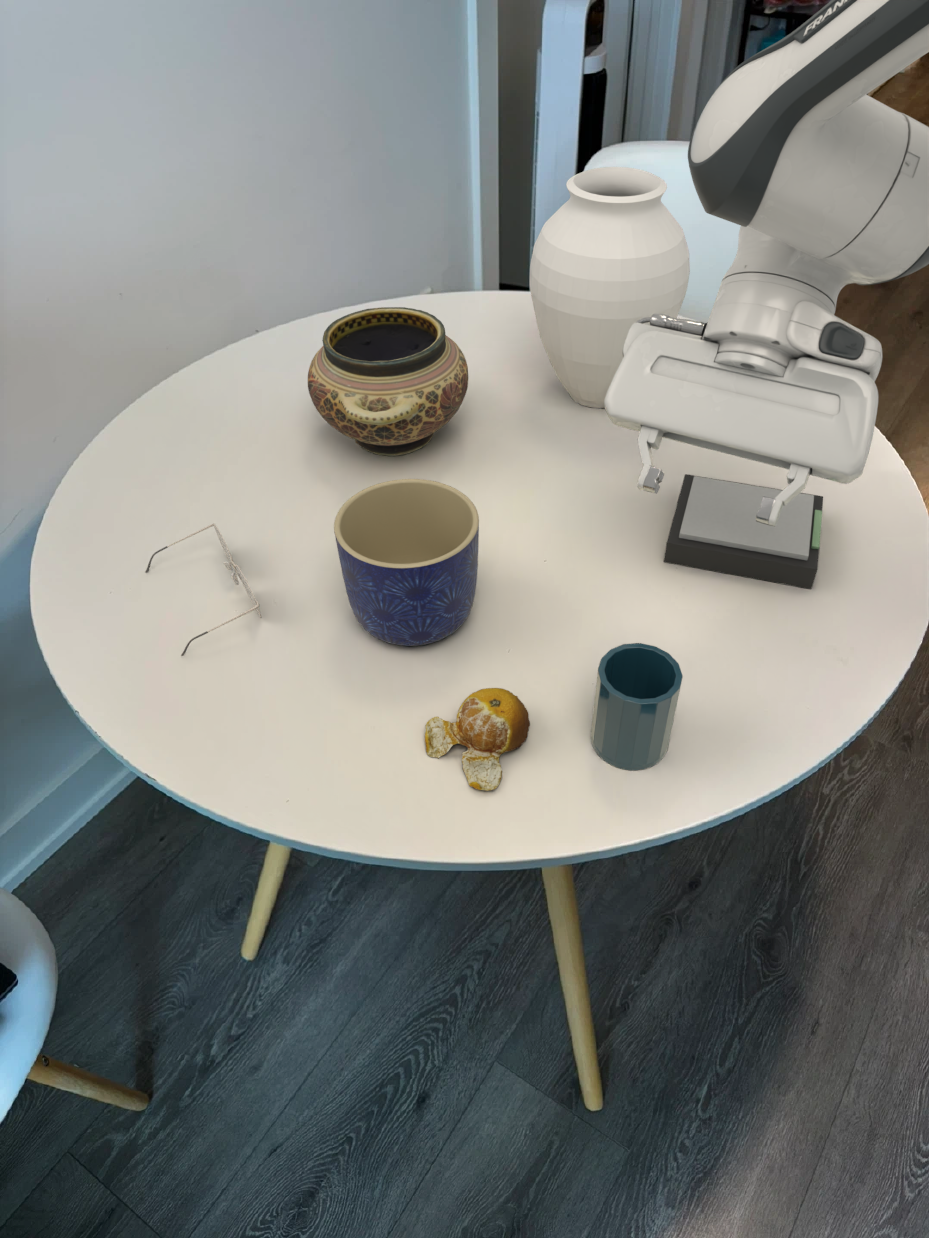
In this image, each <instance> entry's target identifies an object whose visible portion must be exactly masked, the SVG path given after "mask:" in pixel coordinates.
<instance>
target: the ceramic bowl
mask: <svg viewBox="0 0 929 1238" xmlns="http://www.w3.org/2000/svg"><path fill="white" fill-rule="evenodd" d="M468 386H469V366H468V362H467V360H466V357H465V354H464V353H463V351H462V349H461V348H460V347H459V345H458V344H457V343H456V341H454V340H453V339H452V338H450V337H449V336H447V335H446V329H445V325H444V323H443V322H442V321H441V320H440V319H438V318H437V317H436V315H434V314H431V313H429V312H427V311H425V310H422V309H416V308H411V307H405V306H403V307H402V306H390V307H389V306H388V307H384V306H383V307H382V306H381V307H373V308H366V309H362V310H357V311H354V312H352V313H348V314H346V315H343V316H342V317H339V318H337V319H335V320H334V321H332V323H330V324H329V325H328V326H327V327H326V329H325V330H324V332H323V334H322V346H321V347H320V348H319V349H318V350H317V352H316V353H315V354H314V356H313V357H312V359H311V362H310V365H309V367H308V372H307V389H308V394H309V396H310V399H311V402H312V405H314V408H315V409H316V411H317V412H318V414H319V415H320V416H321V417H322V418H323V419H324V420H325V422H327V424H328V425H330V426H331V427H332V428H333V429H335V430H336V431H337V432H339V433H341V434H342V435H344V436H345V437H348V438H349V439H352V440H354V441H355V443H356V444H357V445H358V446H359V447H360V448H362V449H364V450H365V451H367V452H369V453H372V454H375V455H379V456H387V457H389V456H390V457H391V456H402V455H406V454H410V453H413V452H415V451H418V450H420V449H422V448H423V447H425V446H426V445H427V444H428V443H429V442H430V441H431V439H432V438H433V437H434V434H435V433H436V432H437V431H439V430H440V429H442V428H443V427H444V426H445V425H447V424H448V422H450V420H452V418H453V417H454V415H456V413H457V412H458V411H459V409H460V407H461V405H462V404H463V402H464V401H465V397H466V395H467V390H468Z"/></svg>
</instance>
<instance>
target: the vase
mask: <svg viewBox="0 0 929 1238" xmlns="http://www.w3.org/2000/svg"><path fill="white" fill-rule="evenodd" d="M565 183H566V184H565V186H566V189H567V190H568V193H569V198H568V200H567V201H565V202H564V203H563V204H562V205H561V206H560V207H559V208H558V209H557V210H556V211H555V212H554V213H553V214H552V215H550V217H549V218H548V219H547V220H546V221H545V222H544V224H543V226H542V228H541V229H540V231H539V234H538V236H537V237H536V240H535V242H534V245H533V249H532V254H531V257H530V258H531V259H530V264H529V265H530V266H529V291H530V295H531V301H532V306H533V310H534V316H535V320H536V321H535V322H536V326H537V330H538V333H539V337H540V340H541V343H542V345H543V347H544V350H545V353H546V355H547V357H548V360H549V362H550V365H551V366H552V368H553V370H554V373H555V376H556V377H557V379H558V380H559V382H560V383H561V385H562V387H564V389H565V390H566V392H568V393H569V396H570V398H571V399H572V400H573V401H574V402H575V403H577V404H579V405H581V406H584V407H588V408H593V409H594V408H595V409H605V407H604V400H605V397H606V394H607V391H608V389H609V386H610V384H611V382H612V379H613V377H614V375H615V373H616V371H617V369H618V367H619V365H620V363H621V361H622V359H623V354H622V350H623V346H624V343H625V340H626V337H627V334H628V331H629V329H630V327H631V326H632V325H633V324H634V323H635V322H637V321H638V320H640V319H642V318H646V317H651V316H652V315H653V314H664V315H668V316H669V317H672V318H677V319H678V316H679V313H680V311H681V309H682V305H683V303H684V300H685V298H686V295H687V291H688V287H689V280H690V273H691V268H690V267H691V265H690V264H691V263H690V262H691V261H690V249H689V246H688V243H687V238H686V236H685V232H684V229H683V227H682V225H680V223H679V222H678V221H677V219H676V218H675V217H674V215H673V214H672V213H671V212H670V210H669V209H668V208H667V206H666V205H665V204H664V203H663V202H662V197H663V195H664V194H665V192H666V191H667V188H668V185H667V183H666V181H665V180H664V179H662V177H660V176H658V175H656V174H653V173H652V172H649V171H647V170H644V169H640V168H634V167H626V166H603V167H596V168H591V169H587V170H584V171H582V172H579V173H577V174H575V175H573V176H571V177H570V178H569V179H567V181H566V182H565ZM644 324H647V325H650V322H648V323H644Z"/></svg>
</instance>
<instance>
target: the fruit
mask: <svg viewBox="0 0 929 1238" xmlns="http://www.w3.org/2000/svg"><path fill="white" fill-rule="evenodd" d="M529 717H530V714H529V711H528V709H527V707H526V706H525V704H524V703H523V702H522V700H521V699H520V698H519V696H518V695H515V694H514V693H513V692H511V691H509V690H507V689H505V688H500V687H487V688H482V689H481V688H480V689H478V690H477V691H474V692H472V693H471V694H469V695H468V696H467V697H466V698H465V699H464V700H463V702H462V703H461V705H460V707H459V708H458V710H457V713H456V721H454V722H451V721H449V720H445V719H443V718H440V717H439V716H434V717H431V718H430V719H428V721H426V724H425V732H424V744H425V752H426V755H427V756H429V757H430V758H437V759H440V757H442V756H444V755H447V753H449V751H450V750H451V748H452V747H453V746H454V745H457V744H458V745H462V746H465V747H466V748H467V750H466V751H462V754H461V756H462V758H461V763H462V771H463V772H464V774H465V777H466V781H467V782H468V785H469V787H470V788H473V789H475V790H478V791H486V792H488V791H492V790H493V791H494V790H496V789H497V788H498V787H499V785H500V783H501V780H502V779H503V778H502V777H503V770H502V765H501V763H500V757H501V755H503V754H505V753H506V752H512V751H514V750H518V749H520V748H521V747H522V746H523V744H524V743H525V742H526V740H527V738H528V734H529V729H530V726H531V722H530V718H529Z"/></svg>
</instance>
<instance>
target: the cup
mask: <svg viewBox="0 0 929 1238" xmlns="http://www.w3.org/2000/svg"><path fill="white" fill-rule="evenodd" d="M683 677H684V676H683V673H682V670H681V667H680V664H679V662H677V660H676V659H675V658H674V657H673V656H672V655H671V654H670V653H669V652H667V651H665V650H663V649H661V648H660V647H658V646H655V645H651V644H646V643H642V642H634V643H624V644H621V645H618V646H615V647H613V648H611V649H609V650H608V651H607V652H606V653H605V654H604V655H603V656H602V657H601V659H600V661H599V664H598V667H597V675H596V682H595V683H596V684H595V692H594V701H593V709H592V718H591V725H590V726H591V727H590V742H591V744H592V748H593V751H594V752H595V753H596V754H597V756H598V757H599V758H600V759H602V760H603V761H604V762H605V763H606V764H608V765H610V766H613V767H615V768H616V769H617V768H618V769H621V770H625V771H642V770H646V769H650V768H652V767H654V766H655V765H657V764H659V763H660V762H661V761H662V760H663V759H664V757H666V755H667V752H668V749H669V744H670V739H671V734H672V729H673V725H674V721H675V716H676V711H677V707H678V702H679V701H678V700H679V696H680V691H681V686H682V682H683Z"/></svg>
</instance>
